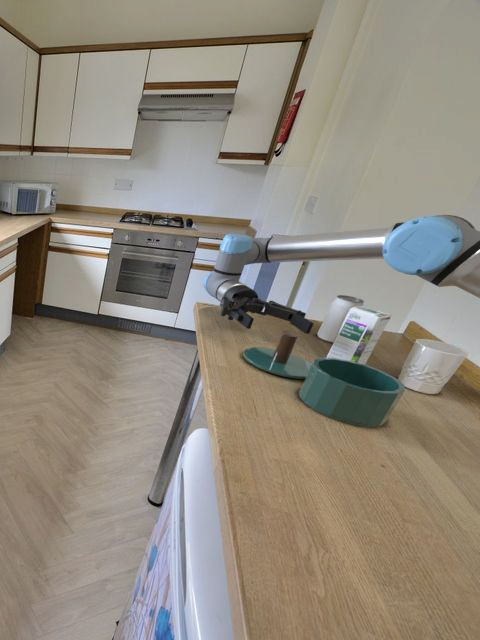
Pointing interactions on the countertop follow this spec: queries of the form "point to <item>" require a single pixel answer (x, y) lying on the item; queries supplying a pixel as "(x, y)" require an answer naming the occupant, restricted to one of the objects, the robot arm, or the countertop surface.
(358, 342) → the syrup box
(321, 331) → the can
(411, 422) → the countertop surface
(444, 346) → the white cup
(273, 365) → the bowl lid
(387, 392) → the bowl
